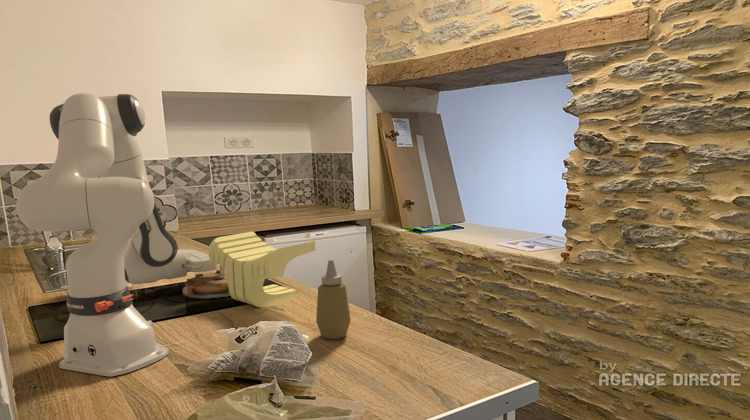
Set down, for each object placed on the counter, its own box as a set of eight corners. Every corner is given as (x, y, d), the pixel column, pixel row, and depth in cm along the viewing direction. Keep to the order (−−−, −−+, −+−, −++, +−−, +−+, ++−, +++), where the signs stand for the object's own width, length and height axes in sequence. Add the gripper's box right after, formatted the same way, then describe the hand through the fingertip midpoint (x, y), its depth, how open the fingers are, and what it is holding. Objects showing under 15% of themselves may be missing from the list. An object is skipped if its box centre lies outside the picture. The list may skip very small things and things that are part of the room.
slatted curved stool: (212, 296, 155) (208, 239, 152) (256, 285, 166) (253, 231, 164) (272, 316, 135) (268, 250, 132) (317, 302, 146) (314, 240, 144)
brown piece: (236, 293, 153) (233, 248, 151) (175, 293, 155) (172, 248, 153) (258, 277, 171) (255, 236, 170) (203, 277, 174) (200, 236, 172)
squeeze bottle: (319, 329, 124) (315, 257, 122) (352, 328, 124) (349, 256, 122) (314, 342, 116) (310, 265, 114) (349, 341, 116) (346, 264, 114)
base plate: (268, 284, 167) (268, 274, 166) (216, 302, 148) (215, 291, 148) (222, 276, 178) (221, 267, 178) (167, 293, 160) (166, 282, 159)
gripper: (188, 259, 152) (232, 251, 160) (167, 249, 168) (208, 243, 176) (189, 279, 153) (233, 271, 161) (168, 267, 169) (209, 261, 177)
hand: (220, 256), depth 169 cm, fingers closed
